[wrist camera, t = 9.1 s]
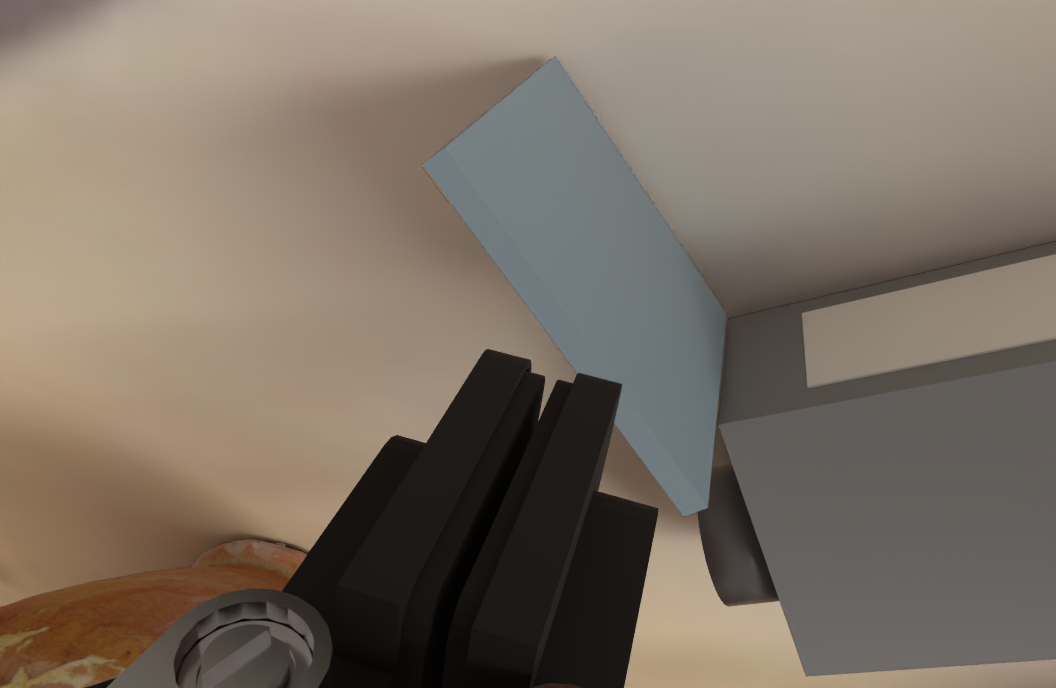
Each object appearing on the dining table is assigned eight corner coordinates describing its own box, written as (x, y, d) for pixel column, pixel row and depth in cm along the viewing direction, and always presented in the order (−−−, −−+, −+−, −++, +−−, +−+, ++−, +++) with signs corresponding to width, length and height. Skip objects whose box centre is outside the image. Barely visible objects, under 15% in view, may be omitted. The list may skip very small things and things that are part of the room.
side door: (522, 80, 32) (399, 181, 21) (555, 56, 31) (445, 147, 21) (692, 330, 35) (660, 526, 25) (726, 313, 34) (707, 507, 24)
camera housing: (1185, 208, 29) (1313, 309, 22) (1209, 485, 33) (1322, 640, 27) (672, 330, 36) (649, 435, 29) (748, 545, 40) (744, 680, 34)
